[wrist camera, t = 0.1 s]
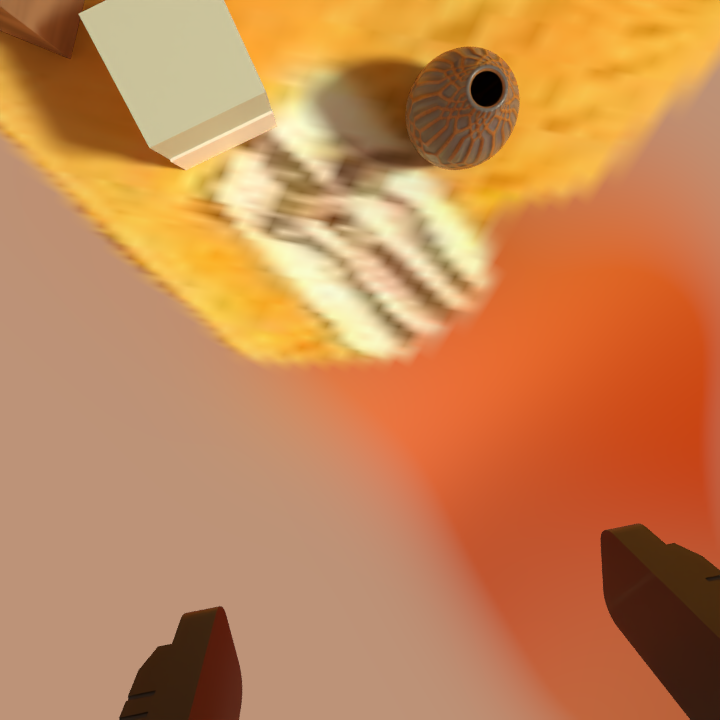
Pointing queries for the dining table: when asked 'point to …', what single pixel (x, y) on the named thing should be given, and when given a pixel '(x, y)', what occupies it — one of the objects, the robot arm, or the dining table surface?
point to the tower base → (225, 141)
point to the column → (43, 22)
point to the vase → (462, 108)
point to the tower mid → (177, 68)
